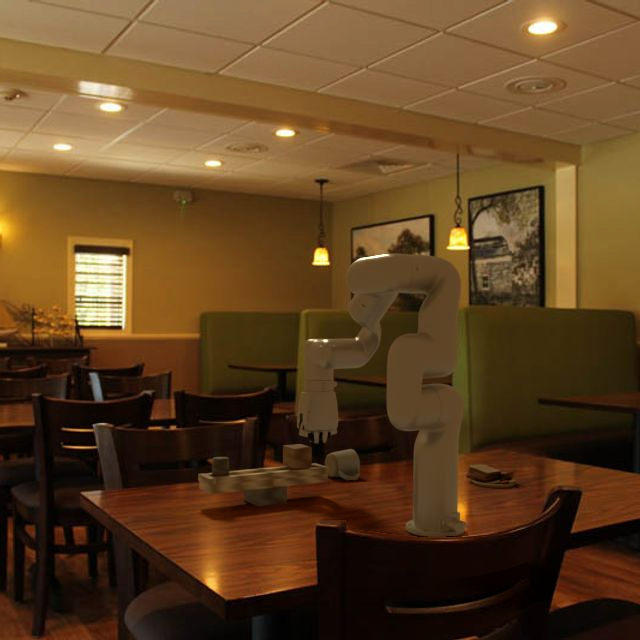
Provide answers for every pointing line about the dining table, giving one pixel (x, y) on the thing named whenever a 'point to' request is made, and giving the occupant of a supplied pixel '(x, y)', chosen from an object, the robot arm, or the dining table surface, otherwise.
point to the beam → (259, 481)
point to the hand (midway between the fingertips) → (317, 457)
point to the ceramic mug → (343, 464)
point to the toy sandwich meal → (490, 477)
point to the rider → (297, 456)
